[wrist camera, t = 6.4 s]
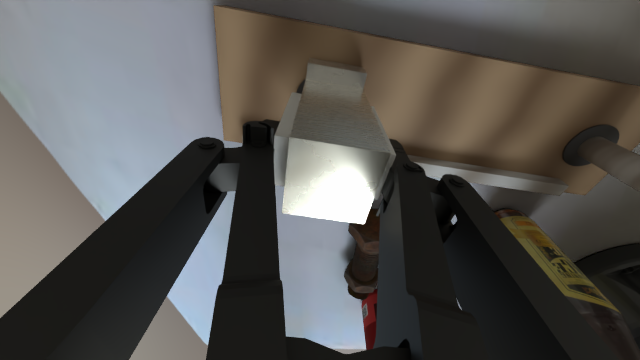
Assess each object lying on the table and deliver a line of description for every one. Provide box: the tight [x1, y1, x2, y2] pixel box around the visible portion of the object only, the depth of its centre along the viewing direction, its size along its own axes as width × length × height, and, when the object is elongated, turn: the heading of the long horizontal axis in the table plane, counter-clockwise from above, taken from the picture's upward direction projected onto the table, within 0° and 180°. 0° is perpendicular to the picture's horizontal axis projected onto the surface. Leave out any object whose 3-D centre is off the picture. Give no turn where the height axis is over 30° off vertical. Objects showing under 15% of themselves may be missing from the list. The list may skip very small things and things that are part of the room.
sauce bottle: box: [494, 209, 640, 360], centre depth 22 cm, size 6×6×20 cm
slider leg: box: [282, 58, 391, 224], centre depth 15 cm, size 4×6×11 cm, turn 171°
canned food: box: [362, 289, 378, 350], centre depth 37 cm, size 8×8×11 cm
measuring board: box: [214, 5, 640, 196], centre depth 17 cm, size 36×10×12 cm, turn 81°
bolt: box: [344, 208, 380, 300], centre depth 32 cm, size 6×5×15 cm
